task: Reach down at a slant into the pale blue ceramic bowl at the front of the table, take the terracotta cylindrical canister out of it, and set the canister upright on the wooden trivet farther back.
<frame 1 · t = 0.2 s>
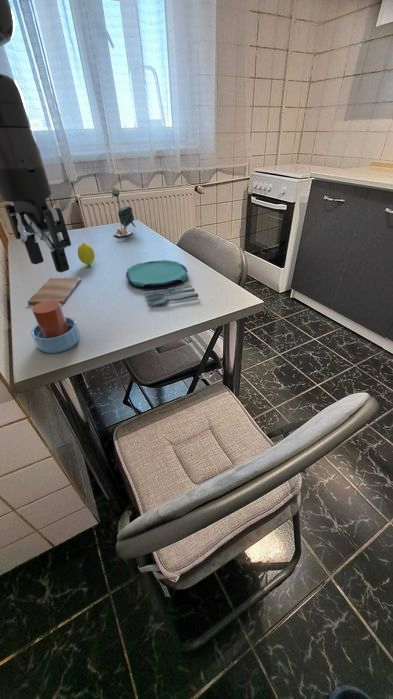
hand: (50, 266, 55), 19 cm above the table, tool pointing down, fingers open, 8 cm apart
terracotta cylindrical canister: (58, 339, 68), point 1 cm above the table, touching bowl
cutlery set: (160, 284, 93), on the table
trivet: (56, 291, 89), on the table
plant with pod: (125, 234, 137), on the table
bowl: (59, 341, 68), on the table
lemon: (89, 265, 106), on the table
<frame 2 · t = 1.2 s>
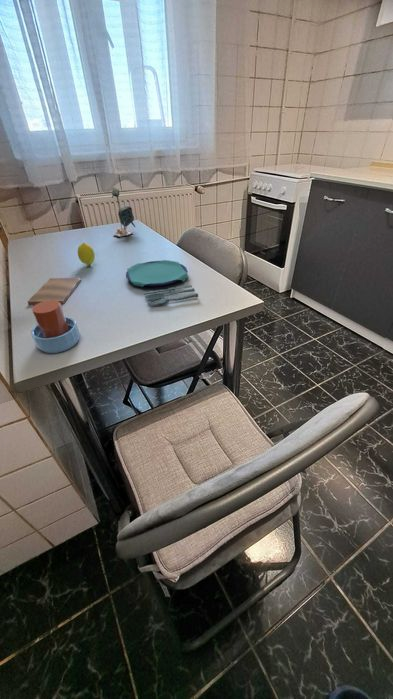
nothing on the table moved.
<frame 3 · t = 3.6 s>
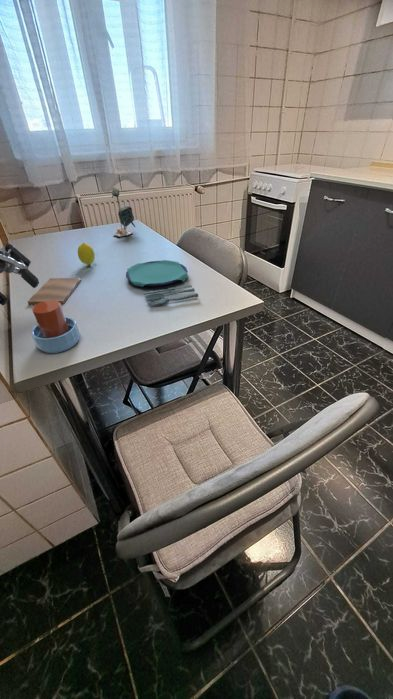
hand: (22, 293, 63), 12 cm above the table, tool tilted 45°, fingers open, 8 cm apart
nothing on the table moved.
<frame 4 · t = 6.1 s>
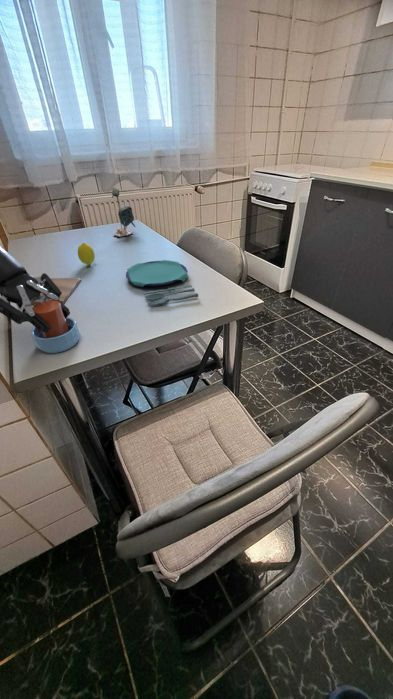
hand: (58, 322, 64), 6 cm above the table, tool tilted 45°, fingers closed on terracotta cylindrical canister, 5 cm apart
terracotta cylindrical canister: (58, 339, 68), point 1 cm above the table, touching bowl, gripper
everything else where it was.
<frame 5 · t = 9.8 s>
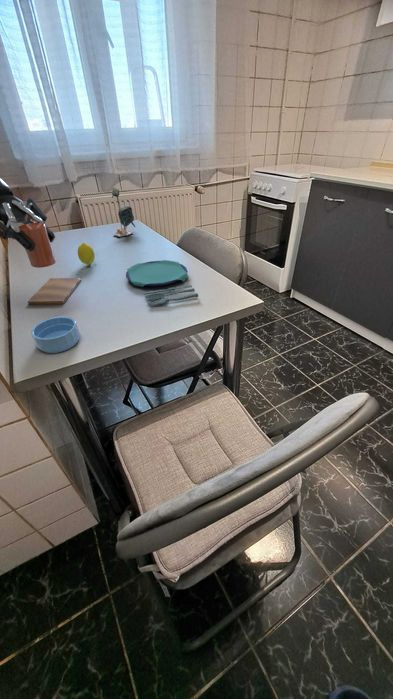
hand: (43, 243, 67), 19 cm above the table, tool tilted 45°, fingers closed on terracotta cylindrical canister, 5 cm apart
terracotta cylindrical canister: (44, 263, 70), point 14 cm above the table, touching gripper
everything else where it was.
when the fingers open (6 cm above the table, at t = 14.0 s): terracotta cylindrical canister stays where it is, resting on trivet.
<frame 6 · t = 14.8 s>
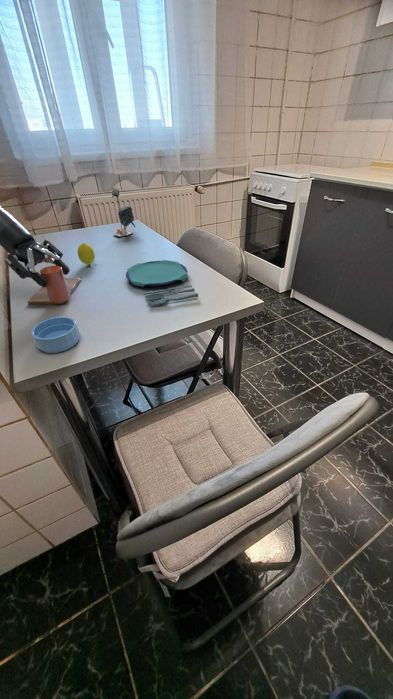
hand: (57, 278, 80), 7 cm above the table, tool tilted 45°, fingers open, 8 cm apart
terracotta cylindrical canister: (60, 298, 84), point 1 cm above the table, touching trivet
everything else where it was.
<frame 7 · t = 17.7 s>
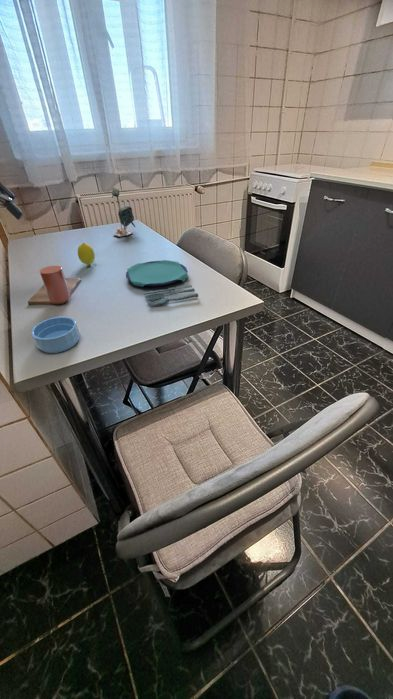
hand: (6, 221, 70), 22 cm above the table, tool tilted 45°, fingers open, 8 cm apart
nothing on the table moved.
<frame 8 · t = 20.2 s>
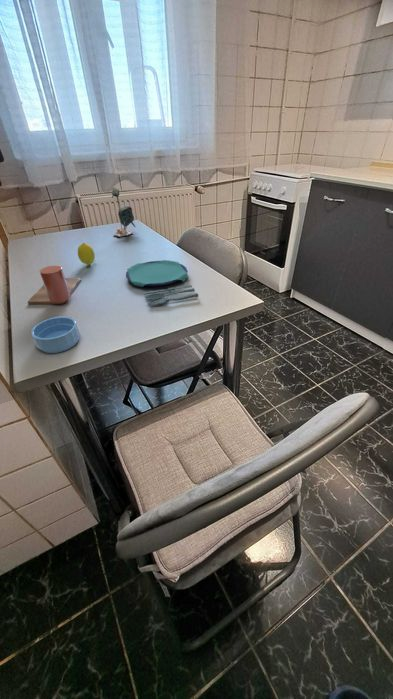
nothing on the table moved.
at the end: terracotta cylindrical canister inside the target area on the trivet (0.4 cm from its centre), point 1.0 cm above the trivet's base; terracotta cylindrical canister tilted 0°; the gripper is holding nothing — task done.
